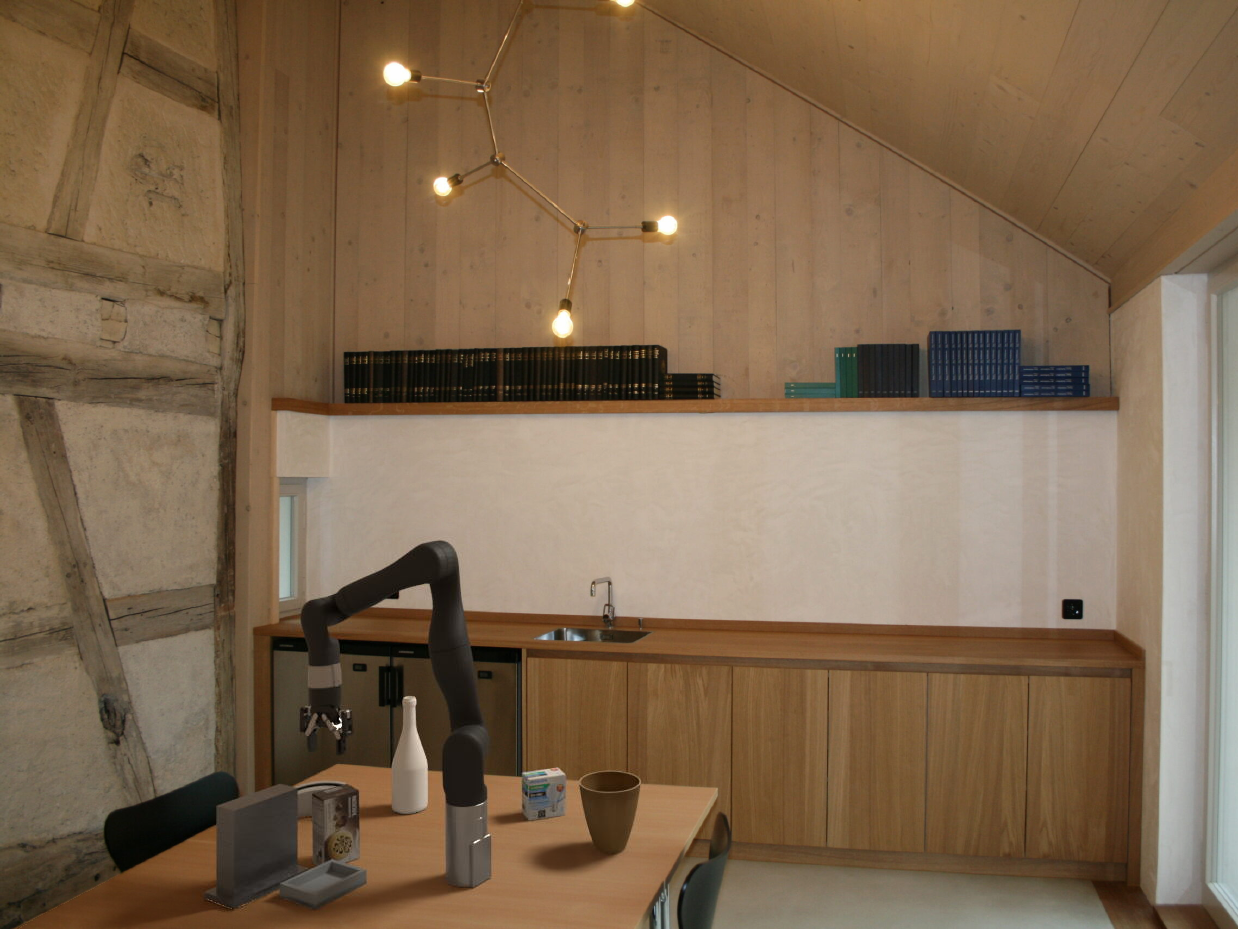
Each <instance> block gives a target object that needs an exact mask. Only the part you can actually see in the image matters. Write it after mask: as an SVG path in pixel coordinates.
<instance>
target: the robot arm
mask: <svg viewBox="0 0 1238 929" xmlns="http://www.w3.org/2000/svg"><path fill="white" fill-rule="evenodd" d="M459 562H460V561H459V556H458V554H457V551H456V550H455V548H454V546H453V545H452V544H450V542H448V541H446V540H441V539H440V540H439V539H438V540H432V541H428V542H423V543H420V544H418V545H416V546H415V547H413V548H412V549H411V550H409V551H408V552H407V553H405V554H404V555H402V556H401V557H400V558H398V559H396V560H395V561H394V562H393V563H391V564H389V565H387V566H385V567H383V568H381V569H380V570H378V571H375V572H373V573H371V574H369V575H366V576H364V577H361V578H359V579H356V580H355V581H353V582H350V583H348V584H346V585H344V586H342V587H341V588H340V589H338V591H337V592H335V593H333V594H331V595H328V596H324V597H319V598H314V599H310V600H308V601H306V602H305V603H304V605H303V606H302V609H301V611H300V618H299V619H300V624H301V629H302V632H303V635H304V639H305V642H306V645H307V648H308V651H307V652H308V653H307V658H308V659H307V660H308V671H307V693H308V694H307V698H308V699H307V700H308V705H304V706H302V707H301V706H300V708H299V732H300V733H303V734H305V736H306V744H307V749H308V750H307V751H308V752H309V753H313V752H316V751H317V750H318V734H317V732H318V731H319V729H320V728H325V729H329V730H330V732H332V733H333V734H334V736H335V738H336V739H335V749H336V750H335V753H336V754H335V755H337V756H339V757H340V756H342V755H345V754H346V752H347V737H349V736H352V735H354V720H353V719H354V718H353V711H352V709H351V708H347V709H342V708H341V703H342V701H343V684H342V681H343V679H342V667H341V653H340V652H341V650H340V642H339V640H338V639H337V638H336V637H334V636H333V637H332V636H331V635H330V633H329V629H328V627H332V626H335V625H338V624H340V623H343V622H344V621H346V620H348V619H349V618H351V617H352V616H354V615H357V614H359V613H361V612H364V611H366V610H368V609H370V608H372V607H374V606H376V605H378V604H379V603H382V602H383V601H385V600H386V599H388V598H389V597H391V596H392V595H394V594H397V593H398V592H400V591H403V590H406V589H410V588H414V587H417V586H422V585H426V584H427V585H429V589H430V590H429V591H430V595H431V601H432V603H431V604H432V610H431V618H430V624H429V630H428V635H427V636H428V638H427V639H428V640H427V647H428V653H429V658H430V660H429V661H430V665H431V669H432V673H433V677H434V678H435V679H434V680H435V681H436V683H437V686H438V688H439V689H440V692H441V693H442V695H443V698H444V700H445V702H446V703H445V704H446V705H447V710H448V717H449V724H450V735H449V736H448V737H447V738H446V739H445V740H444V743H443V745H442V751H441V770H442V772H441V776H442V778H441V779H442V789H443V793H444V796H445V797H444V798H445V799H444V800H445V804H444V805H445V818H444V819H445V822H444V824H445V828H444V829H445V882H446V883H447V884H448V885H451V886H453V887H460V888H465V887H466V888H467V887H471V888H475V887H477V886H479V885H480V884H482V883H484V882H486V881H487V880H489V879H490V878H492V834H491V833H489V832H488V786H487V785H486V783H485V775H484V774H485V770H484V768H485V766H484V764H485V762H484V760H485V758H486V757H487V755H488V753H489V750H490V742H491V741H490V735H489V732H488V728H487V725H486V722H485V718H484V715H483V712H482V709H481V705H480V699H479V695H478V687H477V679H476V671H475V666H474V658H473V653H472V652H473V651H472V648H471V647H472V646H471V642H470V636H469V632H468V628H467V621H466V615H465V609H464V604H463V600H462V589H461V588H462V587H461V575H460V574H461V573H460V563H459Z"/></svg>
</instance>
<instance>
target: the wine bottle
mask: <svg viewBox="0 0 1238 929" xmlns="http://www.w3.org/2000/svg"><path fill="white" fill-rule="evenodd" d="M401 702H402V707H403V711H402V712H403V714H402V731H401V734H400V738H399V740H398V744H397V747H396V750H395V754H394V756H393V759H392V763H391V809H392V810H393V812H394V813H396V812H397V814H400V815H409V814H410V815H411V814H417V813H420V812H422V811H424V810H425V809H426V808H427V806H428V802H429V801H428V800H429V798H428V797H429V796H428V794H429V792H428V791H429V788H428V787H429V786H428V785H429V784H428V779H429V778H428V775H429V774H428V771H429V768H428V760H427V757H426V754H425V750H424V748H423V746H422V745H423V744H422V742H421V739H420V736H419V733H418V729H417V720H416V718H417V716H416V714H417V713H416V705H417V699H416V696H413V695H408V696H405V697H403V699H402V701H401ZM416 812H417V813H416Z"/></svg>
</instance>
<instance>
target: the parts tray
mask: <svg viewBox="0 0 1238 929" xmlns="http://www.w3.org/2000/svg"><path fill="white" fill-rule="evenodd" d="M367 871H368V870H367V869H365V868H363V867H360V866H355V865H352V864H350V863H347V862H346V863H343V862H340V861H336V860H333V859H332V860H329V861H327V862H325V863H323V864H321V865H319V866H318V865H316V866H314V867H313V868H309V870H308V871H306V872H303V873H301V874H299V875H297V876H295V877H293V878H290V879H288V880H286V881H284V882H282V883H280V889H279V899H282V898H283V900H285V899H287V900H286V901H288V900H290V901H289V902H291V903H293V902H294V903H293V904H296V903H297V905H299V904H300V906H302V907H305V908H309V909H311V910H313V911H316V910H317V909H320V908H321V906H322V907H323V906H325V905H328V904H329V903H332V902H333V901H336V900H338V899H339V898H341V897H342V896H345V895H347V894H349V893H351V892H353V891H355V890H357V889H358V888H360V887H362V886H364V885H367V879H368V878H367Z"/></svg>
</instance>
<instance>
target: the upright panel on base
mask: <svg viewBox="0 0 1238 929" xmlns="http://www.w3.org/2000/svg"><path fill="white" fill-rule="evenodd" d="M295 787H296V786H291V785H287V784H283V783H278V784H275V785H273V786H270V787H267V788H264V789H261V790H258V791H255V792H253V793H250V794H246V795H244V796H240V797H238V798H235V799H232V800H229V801H227V802H224V803H221V804H217V805H216V842H215V843H216V846H215V847H216V851H215V852H216V853H215V854H216V856H215V857H216V862H215V863H216V864H215V868H216V874H215V875H216V878H215V879H216V881H215V883H216V884H215V887H212V888H209V889H207V890H206V891H204V892H203V899H204V898H206V899H209V900H212V901H213V902H216V903H219V904H221V905H224V906H226V907H229V908H232V909H236V908H238V907H239V906H241V905H243V904H246V903H248V904H250V903H249V902H251V901H252V900H255V899H257V900H259V899H261V898H263V897H266V896H267V895H266V894H268V895H270V894H271V892H272V893H274V892H277V891H278V890H280V883H282V882H284V881H286V880H288V879H290V878H293V877H295V876H297V875H299V874H301V873H303V872H306V871H308V870H310V868H309V867H306V866H302V865H299V863H298V862H299V861H298V858H299V856H298V855H299V852H298V851H299V850H298V849H299V848H298V847H299V844H298V843H299V840H298V838H299V836H298V833H299V831H298V829H299V828H298V827H299V825H298V824H299V819H298V818H299V817H298V788H295ZM273 891H274V892H273ZM269 893H270V894H269ZM265 895H266V896H265ZM262 896H263V897H262ZM260 897H261V898H260ZM258 898H259V899H258ZM255 901H256V900H255ZM213 902H212V903H213ZM216 903H215V904H216ZM251 903H252V902H251ZM221 905H220V906H221ZM246 905H247V904H246ZM226 907H225V908H226ZM229 908H228V909H229ZM238 909H239V908H238ZM236 910H237V909H236Z"/></svg>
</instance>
